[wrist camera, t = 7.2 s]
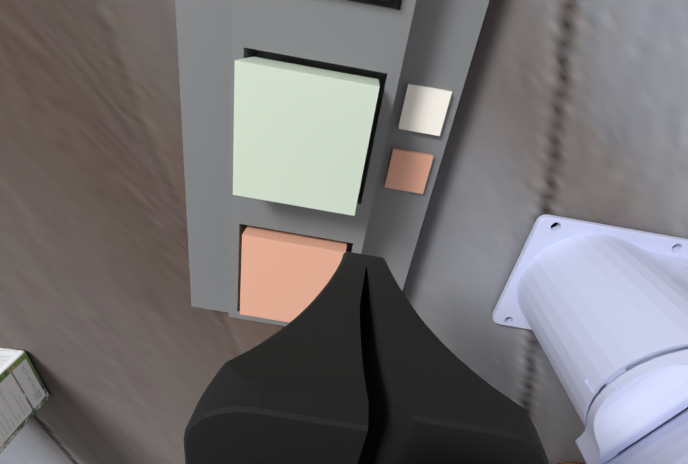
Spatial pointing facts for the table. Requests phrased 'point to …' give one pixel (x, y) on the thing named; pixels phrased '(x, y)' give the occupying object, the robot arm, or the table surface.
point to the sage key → (301, 133)
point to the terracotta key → (284, 271)
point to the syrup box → (18, 393)
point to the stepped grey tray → (386, 133)
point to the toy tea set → (570, 463)
